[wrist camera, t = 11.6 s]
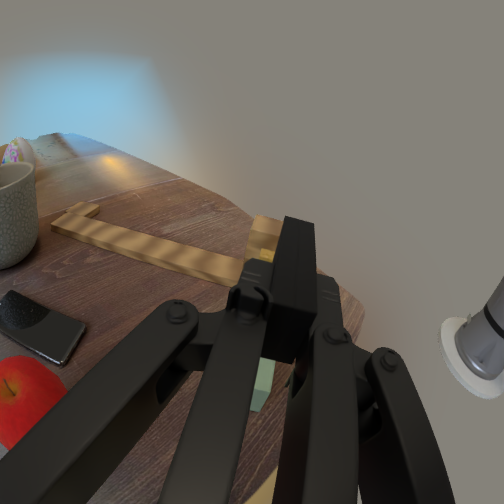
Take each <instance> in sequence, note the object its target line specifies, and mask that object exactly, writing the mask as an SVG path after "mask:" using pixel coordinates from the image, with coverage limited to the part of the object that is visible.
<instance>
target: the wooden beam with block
mask: <svg viewBox="0 0 504 504" xmlns="http://www.w3.org/2000/svg"><path fill="white" fill-rule="evenodd" d="M99 212H100V206H99V205H95V204H91V203H87V202H83V201H81V202H79V203H77V204H76V205H74V206H73V207H71V208H69V209H68V210H66V211H65V213H66V214H64V215H63V216H61V217H60V218H58V219H57V220H55V221H54V222H52V223H51V224H50V225H51V231H54V232H57V233H60V234H62V235H65V236H68V237H71V238H74V239H77V240H80V241H82V242H85V243H88V244H91V245H94V246H97V247H100V248H103V249H106V250H109V251H112V252H115V253H118V254H121V255H124V256H127V257H131V258H134V259H137V260H140V261H143V262H146V263H150V264H153V265H156V266H159V267H163V268H166V269H169V270H172V271H176V272H179V273H182V274H186V275H189V276H193V277H196V278H200V279H203V280H207V281H210V282H214V283H217V284H221V285H224V286H228V287H231V288H232V287H233V286H234V285H236V284H237V283H238V280H239V278H240V275H241V272H242V269H243V267H244V264H245V262H247V261H248V260H249V259H251V258H256V259H259V255H260V252H261V249H262V248H263V249H267V250H271V251H274V252H275V251H276V247H277V243H278V240H279V236H280V233H281V229H282V225H283V222H284V221H280V220H276V219H273V218H268V217H265V216H261V215H256V217H255V219H254V222H253V224H252V227H251V230H250V234H249V238H248V243H247V247H246V252H245V256H244V261H243V260H239V259H235V258H232V257H228V256H224V255H220V254H217V253H213V252H209V251H206V250H202V249H198V248H195V247H191V246H187V245H184V244H180V243H176V242H173V241H169V240H165V239H162V238H158V237H155V236H151V235H147V234H144V233H140V232H137V231H133V230H129V229H126V228H122V227H119V226H115V225H112V224H108V223H105V222H101V221H98V220H94V219H91V218H92V217H93V216H95V215H96V214H98V213H99Z"/></svg>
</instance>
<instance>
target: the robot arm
mask: <svg viewBox="0 0 504 504" xmlns="http://www.w3.org/2000/svg"><path fill="white" fill-rule="evenodd" d="M315 251H316V250H315V233H314V223H310V222H306V221H303V220H299V219H295V218H292V217H288V216H285V218H284V222H283V225H282V229H281V233H280V236H279V240H278V243H277V247H276V251H275V254H274V258H273V261H272V263H271V262H267V261H264V260H260V259H256V258H251V259H249V260H248V261H247V262H245V264H244V267H243V269H242V272H241V275H240V278H239V280H238V283H237V284H236V285H234V286H233V287H232V288H231V289H230V291H229V295H228V300H227V306H226V308H225V309H223V310H221V311H219V312H215V313H199V312H198V310H197V309H196V307H195V306H194V305H192V304H191V303H190V302H187V301H184V300H176V299H173V300H169V301H166V302H164V303H162V304H161V305H159V306H158V307H157V308H156V309H155V310H154V311H153V312H152V313H151V314H150V315H148V316H147V317H146V318H145V319H144V320H143V321H142V322H141V323H140V324H139V325H138V326H137V327H135V328H134V329H133V330H132V331H131V332H130V333H129V334H128V335H127V336H126V337H125V338H124V339H123V340H122V341H120V342H119V343H118V344H117V345H116V346H115V347H114V348H113V349H112V350H111V351H110V352H109V353H108V354H107V355H106V356H105V357H103V358H102V359H101V360H100V361H99V362H98V363H97V364H96V365H95V366H94V367H93V368H92V369H91V370H90V371H89V372H88V373H87V374H86V375H85V376H84V377H83V378H82V379H80V380H79V381H78V382H77V383H76V384H75V385H74V386H73V387H72V388H71V389H70V390H69V391H68V392H67V393H66V394H65V395H64V396H63V397H62V398H61V399H60V400H59V401H58V402H57V403H56V404H55V405H54V406H53V407H52V408H51V409H50V410H49V411H48V412H47V413H46V414H45V415H44V416H43V417H42V418H41V419H40V420H39V421H38V422H37V423H36V424H35V425H34V426H33V427H32V428H31V429H30V430H29V431H28V432H27V433H26V434H25V435H24V436H23V437H22V438H21V439H20V440H19V441H18V442H17V443H16V444H15V445H14V446H13V447H12V448H11V450H10V451H9V452H8V453H7V454H6V455H5V456H4V457H3V458H2V459H1V460H0V504H86V503H87V502H88V501H89V499H90V498H91V497H92V496H93V495H94V494H95V492H96V491H97V490H98V489H99V488H100V487H101V485H102V484H103V483H104V482H105V481H106V479H107V478H108V477H109V476H110V475H111V474H112V472H113V471H114V470H115V469H116V468H117V466H118V465H119V464H120V463H121V461H122V460H123V459H124V458H125V457H126V455H127V454H128V453H129V452H130V451H131V449H132V448H133V447H134V446H135V444H136V443H137V442H138V441H139V439H140V438H141V437H142V436H143V434H144V433H145V432H146V431H147V430H148V428H149V427H150V426H151V425H152V423H153V422H154V421H155V420H156V418H157V417H158V416H159V414H160V413H161V412H162V411H163V409H164V408H165V407H166V406H167V404H168V403H169V402H170V400H171V399H172V398H173V397H174V395H175V394H176V393H177V392H178V390H179V389H180V388H181V386H182V385H183V384H184V383H185V381H186V380H187V379H188V377H189V376H190V375H191V373H192V372H193V371H204V372H203V375H202V378H201V380H200V383H199V386H198V389H197V392H196V394H195V397H194V400H193V403H192V406H191V409H190V411H189V414H188V417H187V420H186V423H185V425H184V428H183V431H182V434H181V437H180V440H179V442H178V445H177V448H176V451H175V454H174V457H173V459H172V462H171V465H170V468H169V471H168V474H167V476H166V479H165V482H164V485H163V488H162V491H161V494H160V497H159V499H158V502H157V504H228V502H229V498H230V494H231V490H232V486H233V481H234V477H235V473H236V469H237V465H238V460H239V456H240V451H241V447H242V443H243V438H244V434H245V429H246V424H247V420H248V415H249V411H250V406H251V401H252V396H253V391H254V387H255V382H256V377H257V372H258V367H259V362H260V357H261V358H265V359H269V360H274V361H278V362H283V363H287V364H292V363H293V361H294V359H295V357H296V362H295V368H294V369H293V371H292V373H291V375H290V376H289V378H288V380H287V382H286V384H285V387H288V385H289V393H288V401H287V409H286V417H285V424H284V432H283V439H282V446H281V452H280V459H279V465H278V471H277V477H276V483H275V488H274V494H273V499H272V504H357V496H358V495H357V494H358V485H359V490H360V495H361V500H362V504H455V500H454V496H453V492H452V489H451V485H450V482H449V478H448V475H447V471H446V468H445V465H444V462H443V459H442V456H441V453H440V450H439V447H438V444H437V441H436V438H435V436H434V433H433V430H432V428H431V425H430V422H429V420H428V417H427V415H426V412H425V409H424V407H423V405H422V402H421V400H420V397H419V395H418V392H417V390H416V388H415V385H414V383H413V381H412V379H411V376H410V374H409V372H408V370H407V367H406V365H405V363H404V361H403V359H402V358H401V356H400V355H399V354H398V353H397V352H395V351H394V350H392V349H389V348H385V347H381V348H377V349H376V350H375V351H374V352H373V353H370V352H368V351H366V350H364V349H361V348H359V347H358V346H356V345H354V344H353V343H352V339H351V336H350V334H349V333H348V331H347V330H346V329H345V328H343V319H342V310H341V303H340V302H341V301H340V296H339V295H340V293H339V286H338V284H337V283H336V281H335V280H334V278H332V277H329V276H325V275H321V274H317V272H316V252H315ZM454 339H455V346H456V349H457V352H458V354H459V356H460V358H461V359H462V361H463V362H464V364H465V365H466V366H467V367H468V368H469V369H470V370H471V371H472V372H473V373H474V374H475V375H476V376H478V377H480V378H482V379H484V380H489V381H490V380H494V379H496V378H497V377H498V376H499V375H500V373H501V372H502V371H503V369H504V277H503V278H502V280H501V282H500V283H499V285H498V286H497V288H496V290H495V291H494V293H493V294H492V296H491V297H490V299H489V300H488V302H487V303H486V305H485V306H484V308H483V309H482V310H481V311H480V312H478V313H477V314H476V315H474V316H473V317H472V318H471V314H469V315H468V317H467V322H465V323H464V324H462V325H461V326H460V328H459V329H458V330H457V332H456V333H455V338H454Z"/></svg>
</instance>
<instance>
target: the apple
mask: <svg viewBox="0 0 504 504" xmlns="http://www.w3.org/2000/svg"><path fill="white" fill-rule="evenodd" d="M67 392H68V391H67V390H66V388H65V386H64V385H63V383H62V382H61V380H60V378H59V377H58V376H57V375H56V374H54V373H53V372H52V371H50V370H49V369H48V368H46V367H45V366H44V365H42V364H41V363H40V362H38V361H37V360H36V359H34V358H30V357H25V356H21V355H19V356H14V357H8V358H5V359H4V360H2V361H1V362H0V442H1V443H2V444H3V445H4V446H5V447H6V448H7V449H8V450H9V451H10V450H11V448H12V447H13V446H14V445H15V444H16V443H17V442H18V441H19V440H20V439H21V438H22V437H23V436H24V435H25V434H26V433H27V432H28V431H29V430H30V429H31V428H32V427H33V426H34V425H35V424H36V423H37V422H38V421H39V420H40V419H41V418H42V417H43V416H44V415H45V414H46V413H47V412H48V411H49V410H50V409H51V408H52V407H53V406H54V405H55V404H56V403H57V402H58V401H59V400H60V399H61V398H62V397H63V396H64V395H65V394H66V393H67Z"/></svg>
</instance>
